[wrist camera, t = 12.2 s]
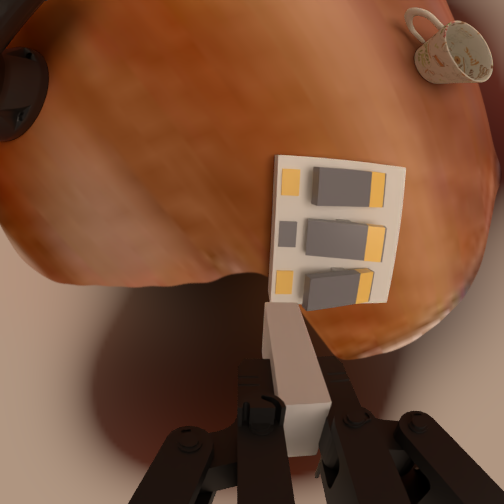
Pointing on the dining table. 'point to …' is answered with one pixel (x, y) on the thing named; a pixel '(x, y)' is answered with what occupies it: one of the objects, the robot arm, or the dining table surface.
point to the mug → (451, 52)
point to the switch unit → (300, 209)
